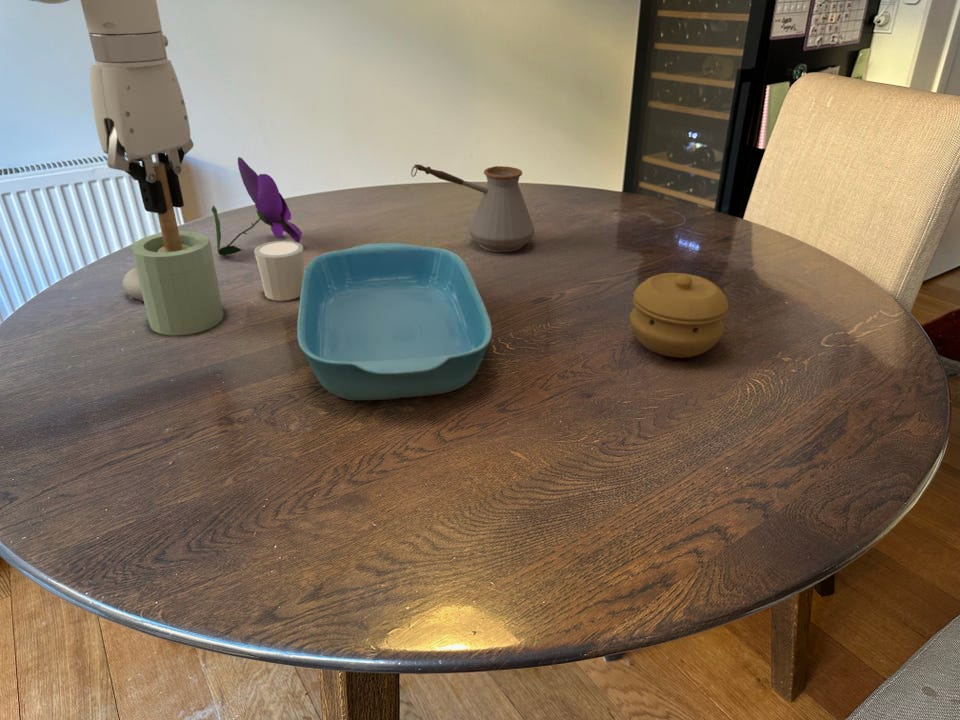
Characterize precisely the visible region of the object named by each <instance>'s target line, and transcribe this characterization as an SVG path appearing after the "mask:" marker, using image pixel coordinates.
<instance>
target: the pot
mask: <svg viewBox="0 0 960 720" xmlns="http://www.w3.org/2000/svg"><path fill="white" fill-rule="evenodd" d="M632 303H633V304H634V306H635V307H633V309H632V310H631V312H630V313H629V324H630V327H631V329H632V331H633V333H634V335H635V337H636V339H637V340H638V342H640V344H641V345H642V346H644V347H645V348H646V349H648V350H649V351H651V352H653V353H655V354H658V355H661V356H665V357H669V358H677V359H683V358H684V359H687V358H692V357H697V356H699V355H702V354H704V353H707V352H708V351H709V350H711V349H712V348H713V347H714V346H715V345H716V344H717V343H718V342H719V340H720V339H721V338H722V337H723V335H724V332H725V327H726V326H725V323H724V320H723V319H724V318H725V317H726V316H727V315H728V312H729V302H728V298H727V297H726V295H725V293H724V292H723V290H722V289H721V288H719V286H718V285H716V284H715V283H714V282H712V281H711V280H709V279H707V278H703V277H701V276H698V275H694V274H689V273H684V272H683V273H682V272H665V273H659V274H656V275H652V276H651V277H648V278H646V279H645V280H643V282H641V283H640V284H638V286H637V287H636V288H635V290H634V291H633V296H632Z"/></svg>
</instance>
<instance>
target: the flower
mask: <svg viewBox="0 0 960 720" xmlns="http://www.w3.org/2000/svg"><path fill="white" fill-rule="evenodd" d="M237 166H238V171H239V174H240V177H241V180H242V183H243V185H244V187H245V190H246V192H247V194H248V196H249V197H250V199H251V200H252V202H253V203H254V206H255V208H256V214H257V216H258V219H257V220H256V221H255V222H254V223H253V222H251V226H250V227H248V228H247V229H245V230H243V231H242V232H240V233H238V234H237V235H236V236H235V238H234V239H233V240H231V242H229V244H227V245H226V246H223V247H221V239H222V238H221V237H222V233H221V221H220V218H219V216H218V210H217V208H216V206H215V205H213V206H212V207H211V212H212V214H213V216H214V222H215V232H216V246H217V254H218V255H219V256H222V257H226V258H228V256H230V255H234V254H237V253H239V252H241V251H242V249H241V248H239V247H238V246H235V245H232V244H233V243H234V242H235V241H236V240H237V239H238V238H239V237H240V236H242V235H244V234H245V235H247V232H248V231H250V230H251V229H253V228H254V227H256V225H257V224H258V223H259V222H260V221H261V222H263V223H264V224H266V225H268V226H270V230H271V232H272V234H273V236H274V237H278V238H283V236H284V232H285V233H286V234H287V235H289V236H290V237H291V238H292V240H293V241H294V242H297V243H300V244H301V239H302V235H303V232H302V231H301V229H300V228H299V227H298V226H297V225H296V224H295V223H292V222H290V221H291V219H292V213H291V211H290V208H289V206H288V204H287V202H286V200H285V198H284V196H283V195H282V193H280V190H279V187H278V185H277V183H276V182H275V180H274V179H273V177H272V176H270V175H269V174H267V173H259V174H258V173H257V172H256V171H255V170H254V169H253V168H251V167H250V165H248V164H247V162H246V161H245V160H244V159H243V157H239V156H238V157H237Z"/></svg>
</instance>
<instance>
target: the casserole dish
mask: <svg viewBox="0 0 960 720" xmlns="http://www.w3.org/2000/svg"><path fill="white" fill-rule="evenodd" d="M296 326H297V327H296V328H297V329H296V335H297V342H298V346H299V348H300V350H301V352H302V353H303V354H304V357H305V359H306V361H307V363H308V365H309V367H310V369H311V370H312V372H313V374H314V376H315V377H316V379H317V381H318V382H319V383H320V385H321V386H322V387H323V388H324V389H325V390H326V391H327V392H329V393H330V394H333V395H334V396H336V397H339V398H341V399H344V400H348V401H360V402H361V401H385V400H387V401H388V400H396V399H397V400H398V399H401V398H405V399H407V398H418V397H427V396H436V395H442V394H447V393H451V392H453V391H456V390H458V389H461V388H463V387H465V385H467V384H468V383H470V382H471V381H472V380H473V378H474V376H476V374H477V372H478V370H479V368H480V366H481V364H482V361H483V359H484V357H485V354H486V352H487V349H488V347H489V345H490V343H491V340H492V337H493V329H492V328H493V327H492V322H491V319H490V315H489V313H488V310H487V308H486V306H485V302H484V300H483V299H482V296H481V294H480V292H479V289H478V287H477V285H476V282H475V280H474V278H473V276H472V273H471V271H470V270H469V268H468V266H467V264H466V263H465V261H464V260H463V259H462V258H461V257H460V256H459V255H458V254H456V253H455V252H454V251H451V250H448V249H445V248H441V247H434V246H433V247H432V246H423V245H422V246H421V245H414V244H409V243H400V242H378V243H374V242H373V243H367V244H360V245H356V246H353V247H350V248H346V249H345V248H344V249H340V250H338V249H337V250H333V251H328V252H325V253H322V254H320V255H318V256H316V257H314V258H313V259H311V261H310V262H309V263H307V265H306V267H305V269H304V275H303V280H302V286H301V296H300V297H299V306H298V313H297V323H296Z"/></svg>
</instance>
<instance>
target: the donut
mask: <svg viewBox="0 0 960 720" xmlns="http://www.w3.org/2000/svg"><path fill="white" fill-rule="evenodd" d="M121 283H122V288H123V289H124V292H125V293H126V294H127V296H129V297H131V298H132V299H134V300H137V301H142V302H144V300H143V296H142V292H141V288H140V284H139V280H138V276H137V271H136V267H135V266H134V267H133V268H131V269H130V270H129V271H127V272H126V273H125V275H124V276H123V279H122V281H121Z"/></svg>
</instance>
